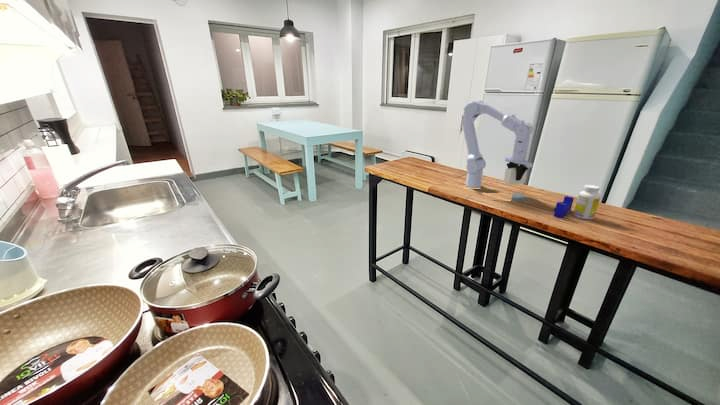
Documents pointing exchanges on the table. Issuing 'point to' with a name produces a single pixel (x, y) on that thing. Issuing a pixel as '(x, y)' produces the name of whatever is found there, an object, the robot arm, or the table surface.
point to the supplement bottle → (587, 202)
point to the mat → (519, 198)
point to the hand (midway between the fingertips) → (514, 179)
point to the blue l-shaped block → (563, 207)
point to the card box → (513, 177)
